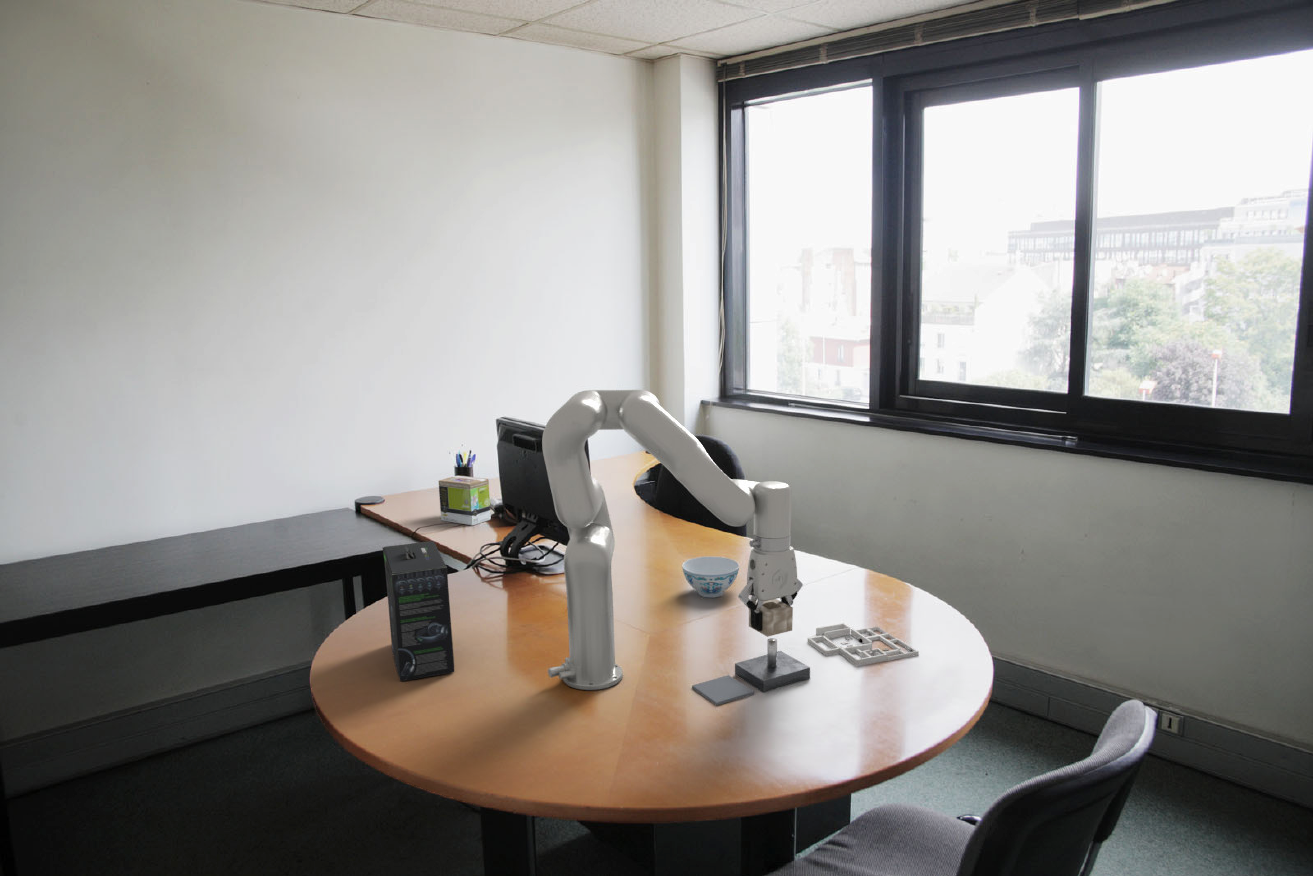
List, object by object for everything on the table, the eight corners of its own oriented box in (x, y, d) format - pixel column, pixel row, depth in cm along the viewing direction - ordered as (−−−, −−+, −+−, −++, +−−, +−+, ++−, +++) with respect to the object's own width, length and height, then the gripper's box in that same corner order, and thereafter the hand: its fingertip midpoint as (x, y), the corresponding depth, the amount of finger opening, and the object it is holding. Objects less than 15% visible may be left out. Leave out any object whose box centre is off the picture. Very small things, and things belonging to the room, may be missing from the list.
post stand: (763, 692, 184) (763, 655, 183) (735, 674, 193) (734, 638, 191) (809, 678, 190) (810, 642, 189) (780, 661, 199) (780, 626, 197)
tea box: (492, 519, 319) (489, 478, 316) (471, 526, 310) (469, 484, 308) (460, 514, 327) (457, 474, 324) (440, 521, 318) (437, 479, 316)
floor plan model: (777, 642, 210) (777, 634, 209) (871, 626, 218) (871, 618, 218) (818, 675, 192) (818, 667, 192) (918, 656, 201) (918, 648, 200)
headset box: (389, 644, 213) (381, 537, 208) (442, 635, 217) (434, 531, 212) (398, 683, 192) (389, 566, 188) (456, 673, 196) (448, 558, 192)
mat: (716, 705, 179) (716, 702, 179) (692, 688, 187) (692, 685, 187) (753, 694, 184) (753, 691, 184) (728, 677, 191) (728, 675, 191)
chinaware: (747, 587, 245) (747, 559, 244) (727, 606, 232) (727, 577, 230) (695, 580, 251) (695, 553, 250) (673, 598, 238) (673, 570, 237)
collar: (767, 636, 185) (767, 613, 184) (748, 626, 191) (749, 603, 190) (792, 630, 188) (792, 607, 187) (773, 620, 194) (773, 598, 193)
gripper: (748, 554, 179) (747, 640, 182) (816, 540, 187) (814, 623, 190) (726, 544, 185) (725, 627, 188) (793, 531, 194) (792, 611, 197)
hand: (770, 624), depth 189 cm, fingers closed on collar, 6 cm apart
